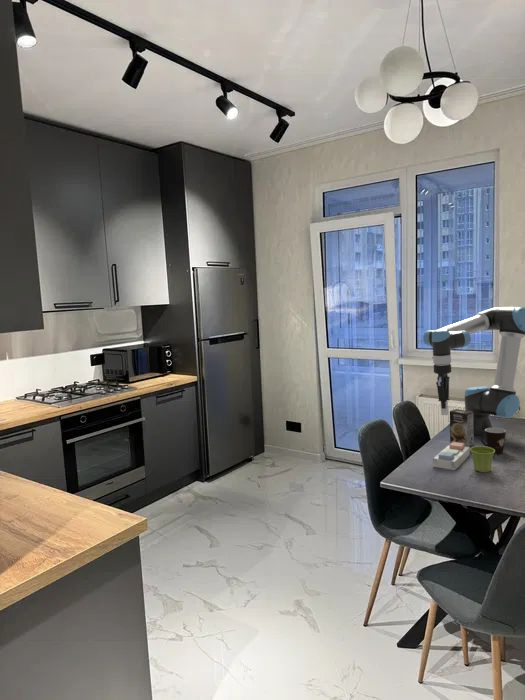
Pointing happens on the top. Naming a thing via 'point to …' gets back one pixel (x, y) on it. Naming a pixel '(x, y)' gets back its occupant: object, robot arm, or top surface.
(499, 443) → the coffee mug
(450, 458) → the slate button
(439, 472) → the top surface
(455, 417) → the coffee box
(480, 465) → the plant pot
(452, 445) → the terracotta button
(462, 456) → the button panel
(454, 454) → the sage button
